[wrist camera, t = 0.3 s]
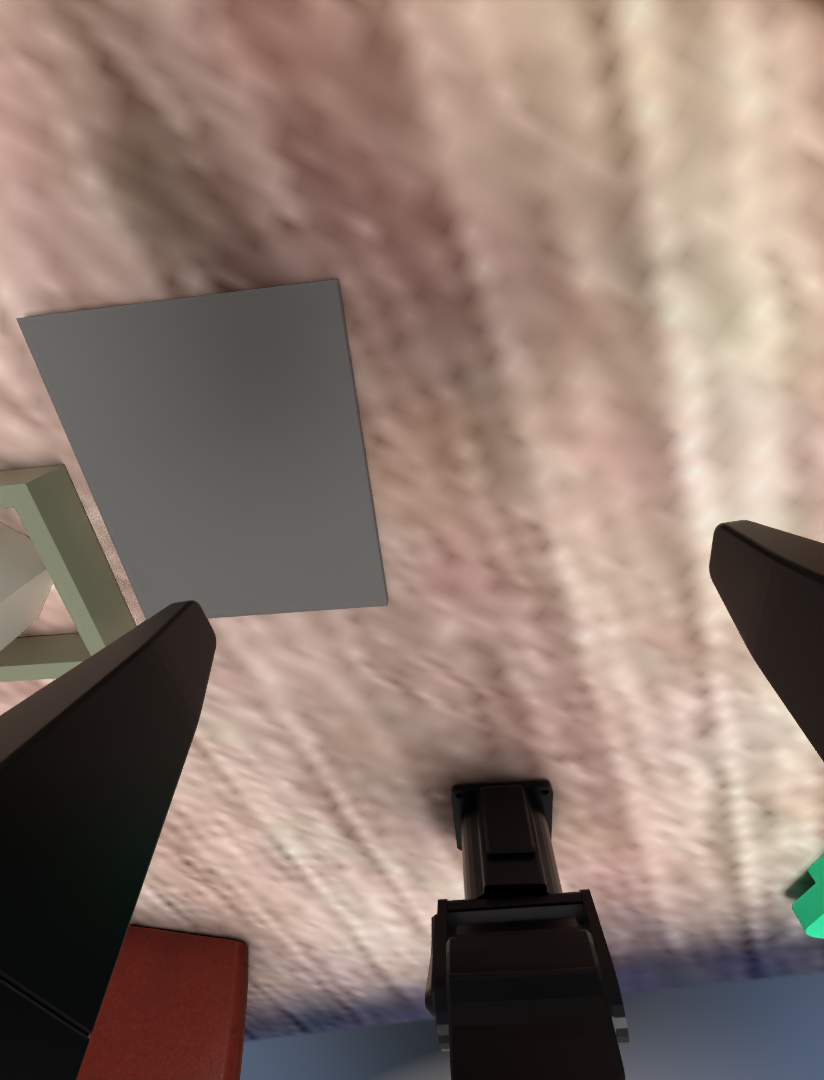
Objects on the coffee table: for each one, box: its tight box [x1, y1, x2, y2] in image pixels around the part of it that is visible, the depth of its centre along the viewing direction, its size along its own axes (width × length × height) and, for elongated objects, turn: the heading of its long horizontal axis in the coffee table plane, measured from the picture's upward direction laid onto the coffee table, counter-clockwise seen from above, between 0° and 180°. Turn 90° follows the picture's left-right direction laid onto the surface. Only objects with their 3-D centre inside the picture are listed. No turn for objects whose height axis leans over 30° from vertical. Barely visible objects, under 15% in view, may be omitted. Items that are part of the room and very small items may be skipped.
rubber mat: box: [16, 279, 388, 620], centre depth 23 cm, size 15×13×1 cm
